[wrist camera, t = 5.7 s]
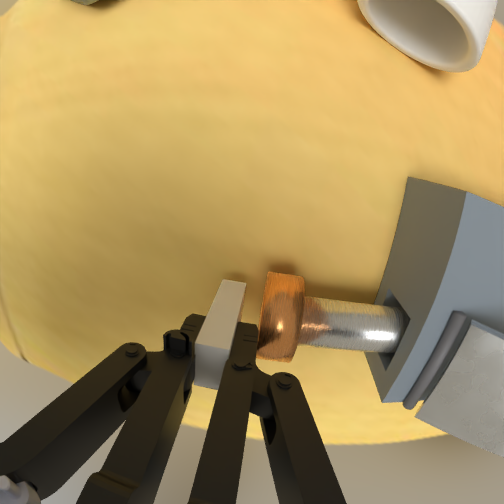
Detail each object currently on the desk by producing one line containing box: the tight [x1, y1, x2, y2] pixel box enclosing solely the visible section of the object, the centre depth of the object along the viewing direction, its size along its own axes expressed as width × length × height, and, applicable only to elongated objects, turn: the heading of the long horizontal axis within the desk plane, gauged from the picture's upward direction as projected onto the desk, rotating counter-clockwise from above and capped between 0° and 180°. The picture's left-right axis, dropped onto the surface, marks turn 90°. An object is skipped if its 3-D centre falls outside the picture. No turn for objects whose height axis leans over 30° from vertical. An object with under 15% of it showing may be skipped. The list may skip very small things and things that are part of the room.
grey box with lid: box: [364, 177, 504, 410], centre depth 15 cm, size 12×13×8 cm
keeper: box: [415, 319, 504, 457], centre depth 9 cm, size 9×7×1 cm
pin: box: [256, 271, 411, 363], centre depth 16 cm, size 16×5×5 cm, turn 82°
